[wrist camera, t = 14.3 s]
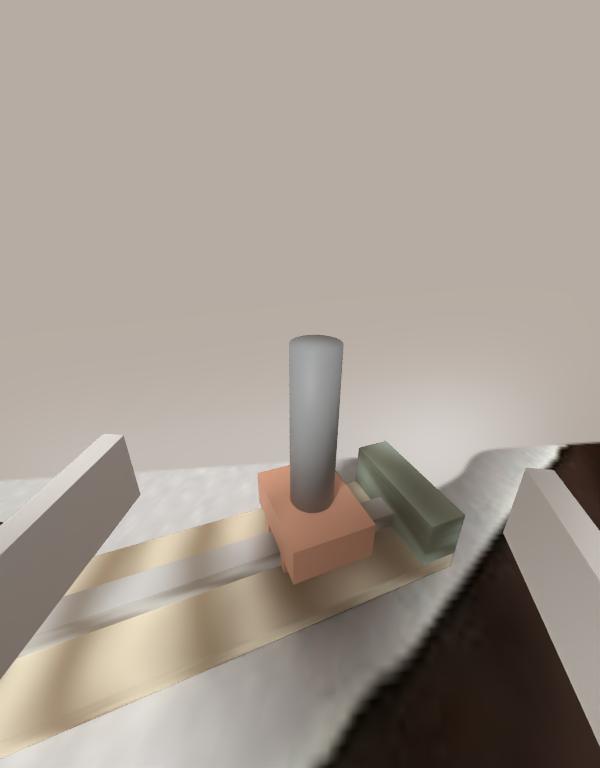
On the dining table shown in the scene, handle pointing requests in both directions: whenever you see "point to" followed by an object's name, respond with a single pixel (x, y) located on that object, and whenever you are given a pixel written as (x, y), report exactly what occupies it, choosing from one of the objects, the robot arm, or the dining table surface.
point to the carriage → (314, 472)
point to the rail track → (210, 602)
